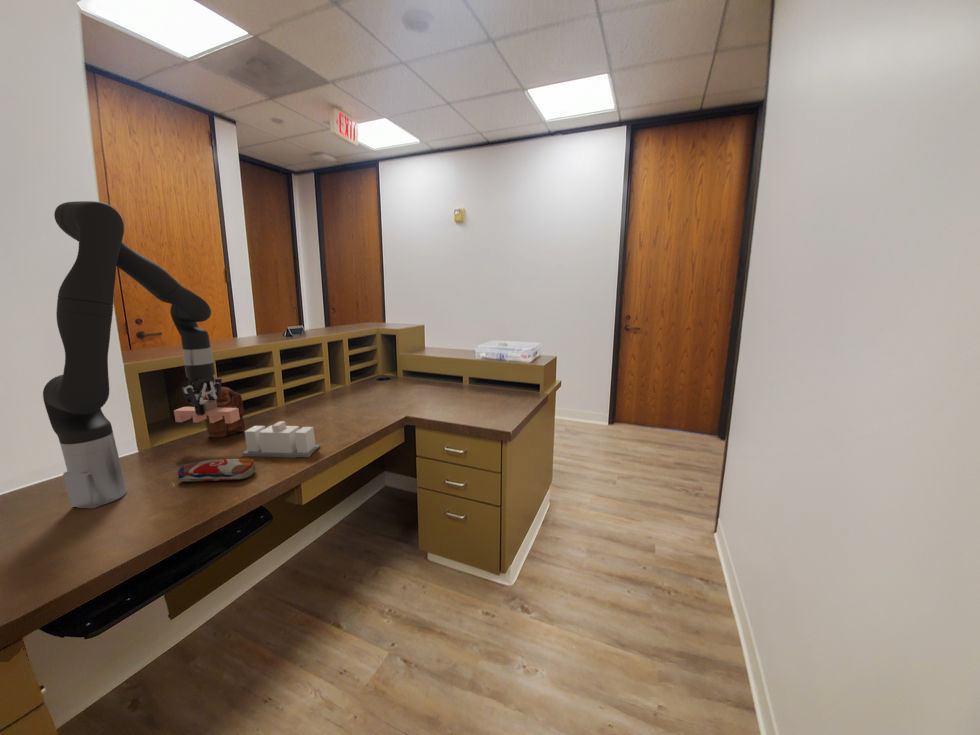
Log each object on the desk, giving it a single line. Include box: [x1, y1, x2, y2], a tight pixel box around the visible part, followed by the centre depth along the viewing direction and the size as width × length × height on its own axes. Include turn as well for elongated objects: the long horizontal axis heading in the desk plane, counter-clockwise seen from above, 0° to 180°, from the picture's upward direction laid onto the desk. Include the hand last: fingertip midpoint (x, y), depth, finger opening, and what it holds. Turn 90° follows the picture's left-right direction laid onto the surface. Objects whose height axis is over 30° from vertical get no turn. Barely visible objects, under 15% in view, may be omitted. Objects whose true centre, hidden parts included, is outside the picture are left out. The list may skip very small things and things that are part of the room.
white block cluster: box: [241, 420, 321, 458], centre depth 124 cm, size 8×22×10 cm, turn 87°
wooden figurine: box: [203, 386, 246, 438], centre depth 138 cm, size 12×6×18 cm, turn 134°
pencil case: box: [177, 458, 256, 483], centre depth 108 cm, size 11×20×5 cm, turn 79°
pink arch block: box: [173, 400, 240, 423], centre depth 123 cm, size 4×19×6 cm, turn 87°
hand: (207, 412), depth 123 cm, fingers closed on pink arch block, 4 cm apart
